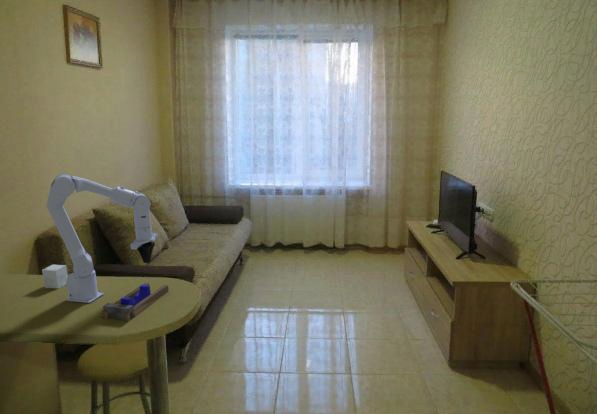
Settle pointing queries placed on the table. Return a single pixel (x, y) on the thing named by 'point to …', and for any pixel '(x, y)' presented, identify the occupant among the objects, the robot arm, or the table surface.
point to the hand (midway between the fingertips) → (146, 262)
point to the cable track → (131, 311)
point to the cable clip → (137, 296)
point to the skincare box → (55, 276)
